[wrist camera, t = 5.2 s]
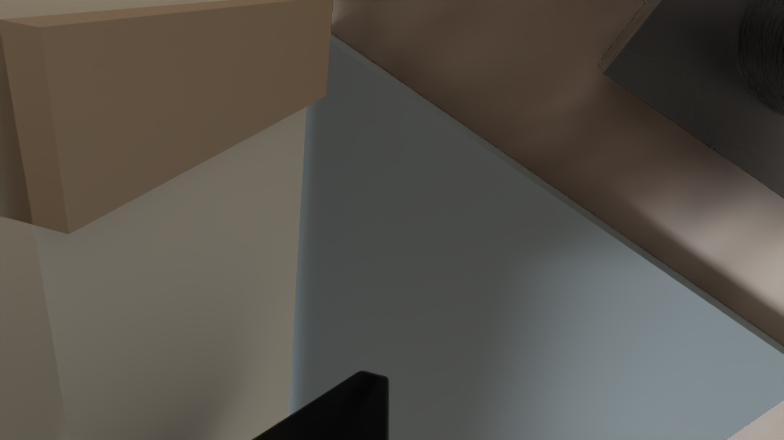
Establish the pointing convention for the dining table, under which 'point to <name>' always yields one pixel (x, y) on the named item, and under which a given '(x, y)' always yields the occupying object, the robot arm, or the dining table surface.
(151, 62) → the gate
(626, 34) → the gate posts
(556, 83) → the dining table surface
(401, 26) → the dining table surface
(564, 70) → the dining table surface
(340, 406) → the robot arm
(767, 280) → the dining table surface
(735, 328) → the doorway mat
